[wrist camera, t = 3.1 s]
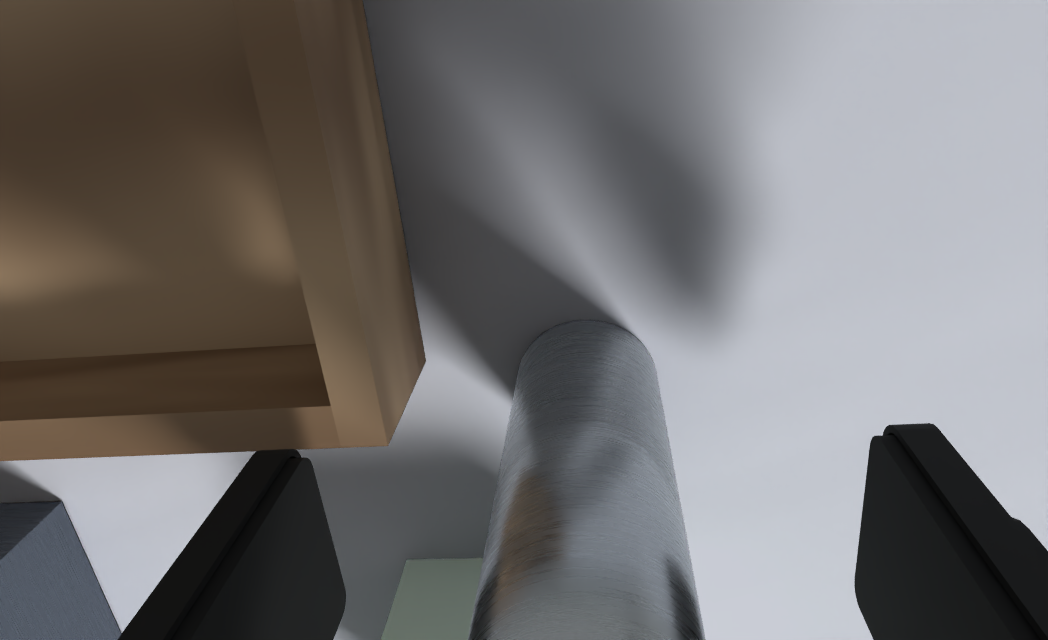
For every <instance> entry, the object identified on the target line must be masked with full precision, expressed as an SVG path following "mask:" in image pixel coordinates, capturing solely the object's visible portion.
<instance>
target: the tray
mask: <svg viewBox="0 0 1048 640" xmlns="http://www.w3.org/2000/svg"><path fill="white" fill-rule="evenodd" d="M425 362H426V358H425V353H424V347H423V341H422V336H421V330H420V324H419V319H418V313H417V307H416V302H415V296H414V290H413V284H412V279H411V273H410V267H409V262H408V256H407V250H406V245H405V239H404V233H403V228H402V222H401V216H400V210H399V205H398V199H397V193H396V188H395V182H394V176H393V171H392V165H391V159H390V154H389V148H388V142H387V137H386V131H385V125H384V119H383V114H382V108H381V102H380V97H379V91H378V85H377V80H376V74H375V68H374V63H373V57H372V51H371V45H370V40H369V34H368V28H367V23H366V17H365V11H364V6H363V0H0V461H14V460H39V459H65V458H91V457H116V456H142V455H168V454H194V453H219V452H245V451H260V450H278V449H295V450H296V449H322V448H348V447H374V446H388V445H389V443H390V441H391V438H392V436H393V434H394V432H395V429H396V427H397V425H398V423H399V420H400V418H401V416H402V414H403V411H404V409H405V407H406V405H407V402H408V400H409V398H410V396H411V393H412V391H413V389H414V387H415V384H416V382H417V380H418V378H419V375H420V373H421V371H422V369H423V366H424V364H425Z"/></svg>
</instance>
